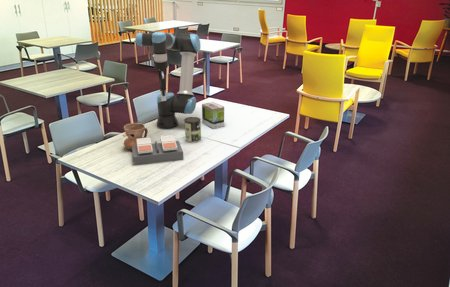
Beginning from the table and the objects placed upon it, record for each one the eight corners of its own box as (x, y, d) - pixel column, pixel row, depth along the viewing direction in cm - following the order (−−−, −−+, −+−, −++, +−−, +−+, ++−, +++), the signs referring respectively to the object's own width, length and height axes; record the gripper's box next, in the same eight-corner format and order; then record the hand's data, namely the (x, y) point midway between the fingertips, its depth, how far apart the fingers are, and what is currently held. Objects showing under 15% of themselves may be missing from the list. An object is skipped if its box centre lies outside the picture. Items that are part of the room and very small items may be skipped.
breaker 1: (136, 141, 217) (136, 138, 216) (150, 139, 219) (150, 136, 218) (137, 154, 206) (137, 151, 205) (153, 152, 208) (152, 149, 207)
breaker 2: (160, 138, 221) (159, 135, 220) (174, 137, 223) (173, 134, 222) (163, 151, 209) (162, 148, 208) (177, 149, 211) (177, 146, 210)
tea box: (224, 126, 262) (224, 106, 256) (212, 129, 256) (212, 109, 250) (213, 120, 273) (213, 101, 267) (201, 123, 268) (201, 103, 262)
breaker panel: (132, 153, 221) (131, 142, 218) (179, 148, 227) (178, 137, 225) (134, 165, 207) (132, 154, 204) (183, 159, 213) (182, 148, 210)
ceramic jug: (131, 155, 219) (129, 133, 213) (117, 148, 227) (115, 126, 222) (155, 146, 231) (154, 125, 225) (141, 140, 240) (140, 119, 234)
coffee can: (202, 137, 243) (202, 117, 238) (198, 143, 234) (198, 122, 229) (187, 136, 245) (187, 116, 240) (183, 142, 236) (182, 121, 230)
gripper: (152, 58, 213) (156, 97, 223) (155, 63, 202) (158, 104, 212) (165, 58, 215) (168, 96, 225) (168, 62, 204) (171, 103, 214)
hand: (163, 100), depth 219 cm, fingers closed
